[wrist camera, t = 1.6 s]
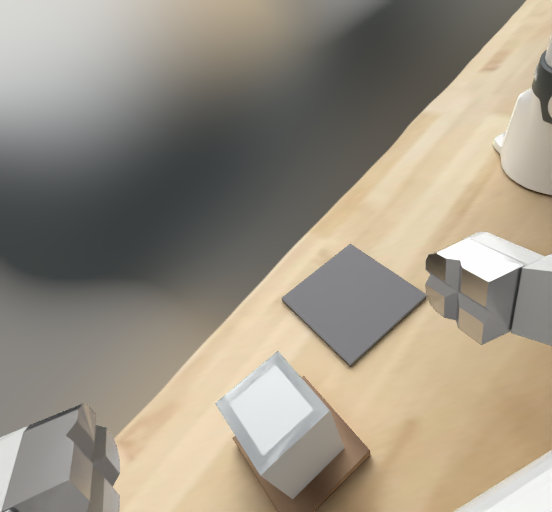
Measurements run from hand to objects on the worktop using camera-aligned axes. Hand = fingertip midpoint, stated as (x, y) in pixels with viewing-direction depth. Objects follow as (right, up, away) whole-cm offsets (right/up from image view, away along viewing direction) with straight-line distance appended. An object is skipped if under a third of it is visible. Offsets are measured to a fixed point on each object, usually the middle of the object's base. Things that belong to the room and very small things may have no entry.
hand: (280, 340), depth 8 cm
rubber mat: (+9, -3, +35) cm, 36 cm away
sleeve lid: (+2, -15, +25) cm, 29 cm away
